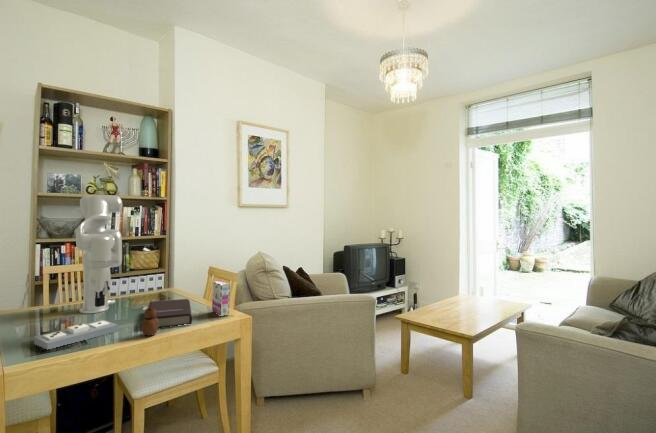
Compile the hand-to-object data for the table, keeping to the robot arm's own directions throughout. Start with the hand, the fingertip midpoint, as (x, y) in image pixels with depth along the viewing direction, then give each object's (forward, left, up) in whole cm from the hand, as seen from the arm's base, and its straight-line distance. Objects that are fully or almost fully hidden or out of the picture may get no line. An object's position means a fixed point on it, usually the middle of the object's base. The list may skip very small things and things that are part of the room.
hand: (99, 305), depth 145 cm
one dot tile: (0, +1, -11) cm, 11 cm away
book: (-28, +9, -12) cm, 31 cm away
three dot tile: (+16, +1, -11) cm, 19 cm away
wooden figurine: (-10, +22, -11) cm, 26 cm away
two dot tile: (+8, +1, -10) cm, 13 cm away
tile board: (+8, +1, -11) cm, 14 cm away
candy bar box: (-47, +23, -11) cm, 54 cm away
